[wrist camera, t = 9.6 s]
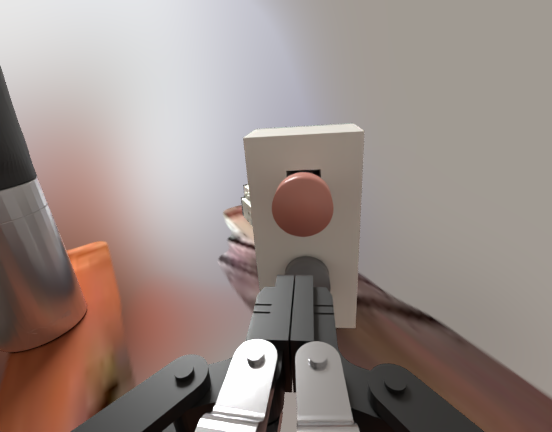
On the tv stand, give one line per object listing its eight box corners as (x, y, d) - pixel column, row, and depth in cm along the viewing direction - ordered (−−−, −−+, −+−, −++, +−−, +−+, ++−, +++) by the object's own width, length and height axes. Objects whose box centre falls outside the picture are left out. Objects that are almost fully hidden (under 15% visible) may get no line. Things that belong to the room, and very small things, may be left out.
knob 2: (284, 306, 28) (281, 267, 27) (289, 262, 36) (287, 229, 34) (330, 307, 28) (330, 267, 26) (326, 262, 35) (326, 229, 33)
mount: (263, 325, 33) (243, 137, 25) (271, 288, 39) (256, 128, 31) (355, 328, 31) (364, 131, 24) (348, 289, 38) (353, 123, 30)
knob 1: (274, 237, 22) (269, 180, 20) (283, 201, 29) (280, 157, 28) (333, 236, 22) (333, 178, 20) (327, 199, 29) (327, 155, 27)
